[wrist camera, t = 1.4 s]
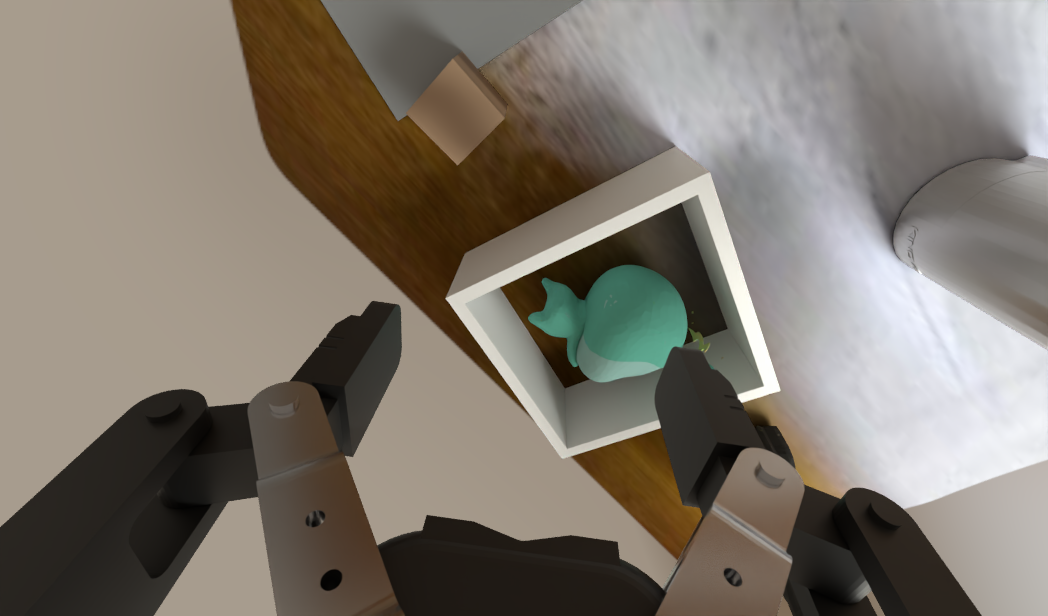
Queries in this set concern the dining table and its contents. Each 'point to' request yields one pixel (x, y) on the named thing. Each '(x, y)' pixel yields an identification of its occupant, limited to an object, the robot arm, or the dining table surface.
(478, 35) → the mat
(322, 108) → the dining table surface
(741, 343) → the toy caddy
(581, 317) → the toy
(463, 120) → the walnut cube
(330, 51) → the dining table surface
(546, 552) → the robot arm
